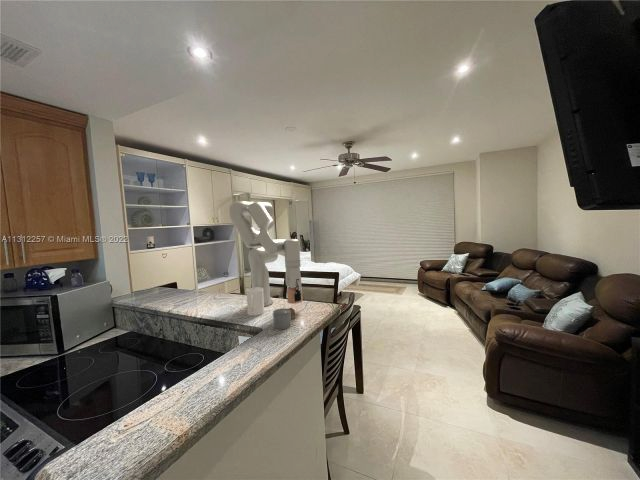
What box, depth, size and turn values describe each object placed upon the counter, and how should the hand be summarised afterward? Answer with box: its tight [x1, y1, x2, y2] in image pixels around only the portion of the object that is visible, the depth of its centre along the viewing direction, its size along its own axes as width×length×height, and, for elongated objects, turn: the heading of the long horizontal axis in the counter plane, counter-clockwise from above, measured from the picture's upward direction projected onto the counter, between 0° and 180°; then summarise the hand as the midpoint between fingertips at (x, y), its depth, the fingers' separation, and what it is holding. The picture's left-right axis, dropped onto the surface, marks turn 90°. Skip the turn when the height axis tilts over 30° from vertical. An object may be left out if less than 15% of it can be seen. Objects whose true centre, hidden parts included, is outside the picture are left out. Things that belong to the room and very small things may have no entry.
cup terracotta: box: [286, 287, 303, 304], centre depth 126 cm, size 7×7×6 cm
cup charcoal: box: [272, 307, 292, 330], centre depth 109 cm, size 7×7×6 cm
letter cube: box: [287, 307, 296, 320], centre depth 118 cm, size 4×4×4 cm
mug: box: [246, 287, 266, 317], centre depth 125 cm, size 12×8×12 cm
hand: (294, 298), depth 126 cm, fingers closed on cup terracotta, 7 cm apart
